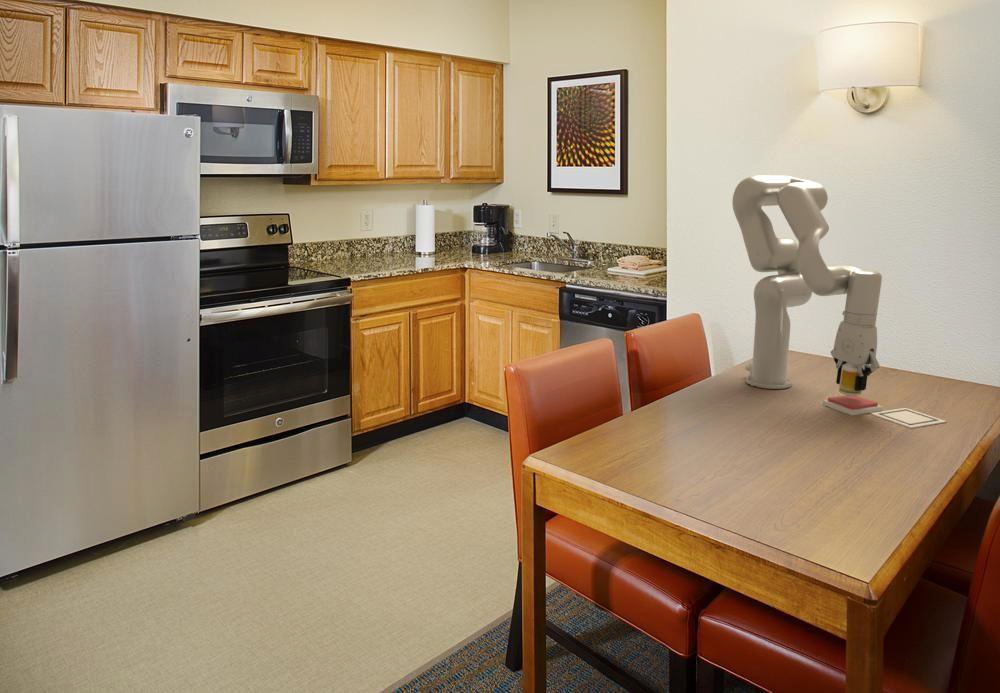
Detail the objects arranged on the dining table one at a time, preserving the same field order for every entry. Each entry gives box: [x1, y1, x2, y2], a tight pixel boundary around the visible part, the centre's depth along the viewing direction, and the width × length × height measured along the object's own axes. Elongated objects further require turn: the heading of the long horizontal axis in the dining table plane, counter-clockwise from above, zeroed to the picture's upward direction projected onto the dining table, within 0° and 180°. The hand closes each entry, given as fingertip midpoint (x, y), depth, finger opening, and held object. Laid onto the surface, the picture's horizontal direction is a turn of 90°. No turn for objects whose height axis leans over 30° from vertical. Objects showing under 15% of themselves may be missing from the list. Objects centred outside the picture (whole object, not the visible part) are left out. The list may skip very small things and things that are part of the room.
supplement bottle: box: [838, 362, 864, 397], centre depth 201 cm, size 5×5×10 cm
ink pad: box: [822, 394, 883, 416], centre depth 202 cm, size 10×10×2 cm
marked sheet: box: [870, 407, 948, 429], centre depth 193 cm, size 12×12×1 cm
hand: (850, 386), depth 201 cm, fingers closed on supplement bottle, 5 cm apart
